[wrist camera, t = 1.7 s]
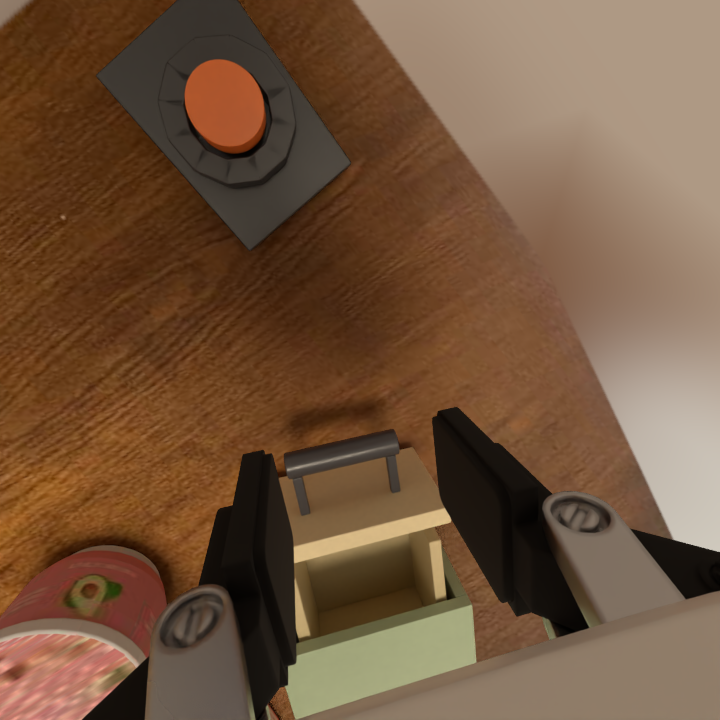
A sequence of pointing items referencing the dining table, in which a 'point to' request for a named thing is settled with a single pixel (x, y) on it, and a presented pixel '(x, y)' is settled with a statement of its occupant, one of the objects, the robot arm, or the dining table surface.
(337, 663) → the cabinet
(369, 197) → the dining table surface
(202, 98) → the button
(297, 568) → the drawer
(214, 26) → the button box
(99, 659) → the container
